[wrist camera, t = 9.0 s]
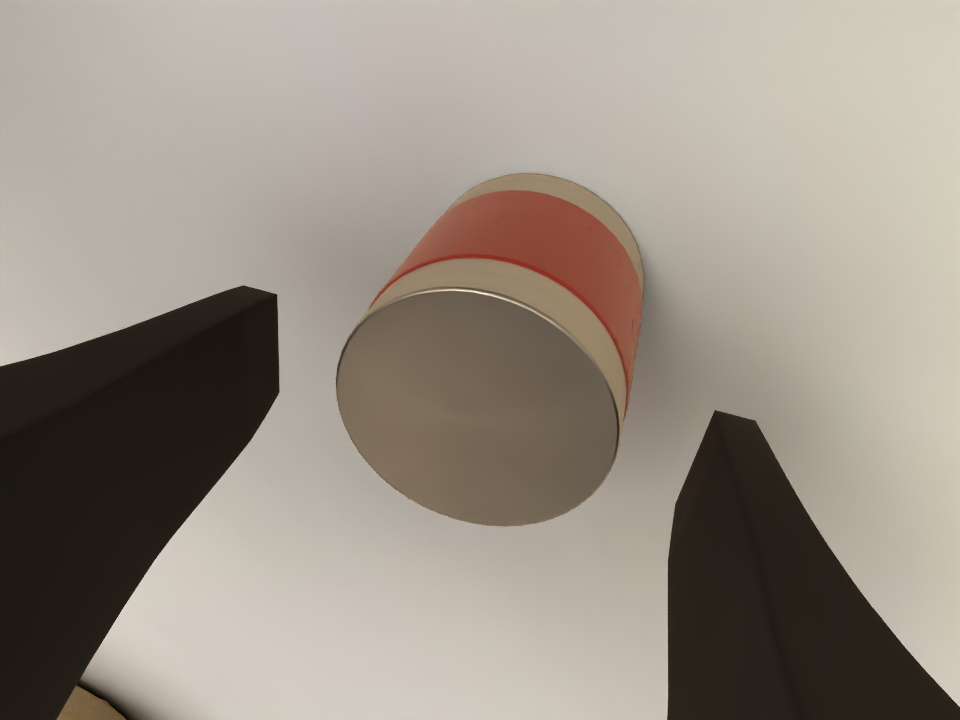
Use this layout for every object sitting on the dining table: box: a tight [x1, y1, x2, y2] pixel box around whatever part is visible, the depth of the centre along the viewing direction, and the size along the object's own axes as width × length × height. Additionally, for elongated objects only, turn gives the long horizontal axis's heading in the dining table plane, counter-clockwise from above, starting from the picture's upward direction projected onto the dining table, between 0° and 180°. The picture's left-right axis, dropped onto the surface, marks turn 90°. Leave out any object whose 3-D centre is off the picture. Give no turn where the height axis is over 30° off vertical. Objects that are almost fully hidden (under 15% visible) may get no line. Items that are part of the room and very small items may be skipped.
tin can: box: [336, 174, 644, 526], centre depth 13 cm, size 5×5×5 cm
